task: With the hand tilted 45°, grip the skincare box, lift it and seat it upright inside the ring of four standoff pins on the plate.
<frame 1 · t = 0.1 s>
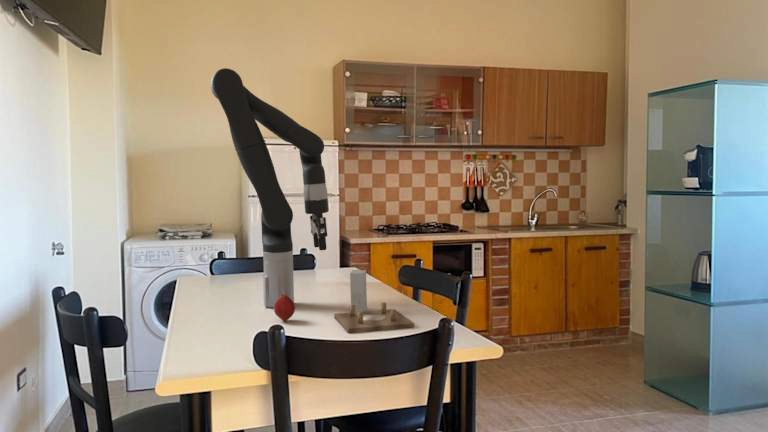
hand: (320, 248, 199), 17 cm above the table, tool pointing down, fingers open, 8 cm apart
standoff plate: (372, 322, 172), on the table
skincare box: (359, 311, 187), on the table
onion: (284, 321, 175), on the table
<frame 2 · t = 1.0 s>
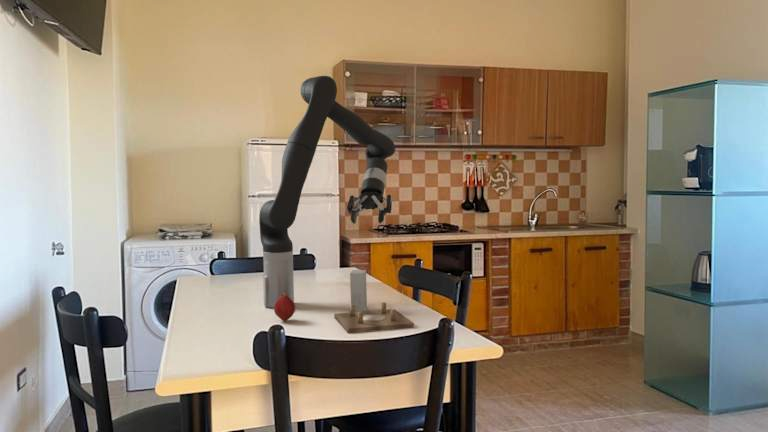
hand: (366, 221, 197), 26 cm above the table, tool tilted 45°, fingers open, 8 cm apart
nothing on the table moved.
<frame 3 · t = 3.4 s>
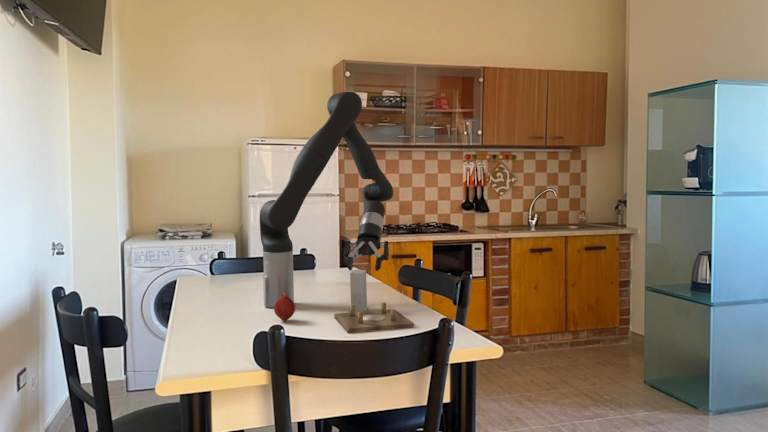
hand: (363, 269, 192), 12 cm above the table, tool tilted 45°, fingers open, 8 cm apart
nothing on the table moved.
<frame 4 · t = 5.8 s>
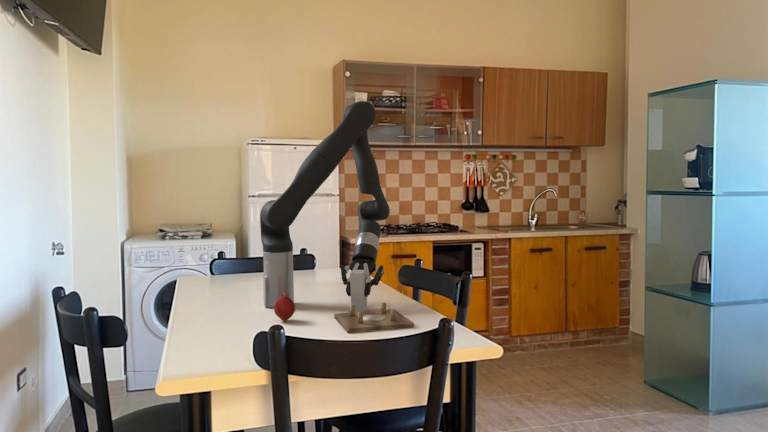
hand: (357, 294, 185), 5 cm above the table, tool tilted 45°, fingers closed on skincare box, 4 cm apart
skincare box: (359, 311, 187), on the table, touching gripper
everything else where it was.
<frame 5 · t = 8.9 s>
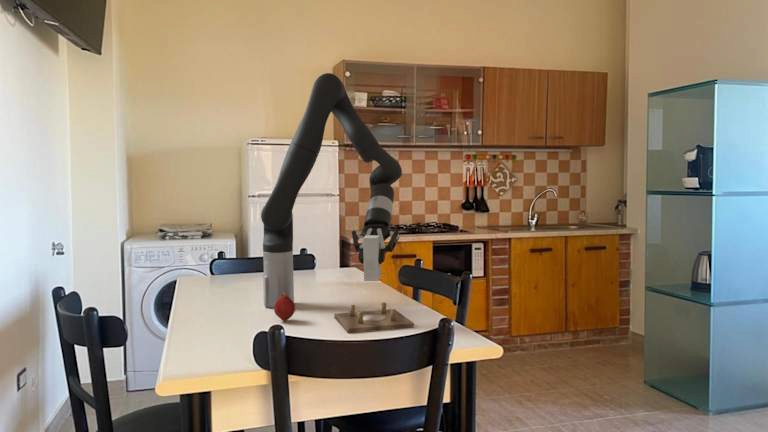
hand: (370, 261, 170), 17 cm above the table, tool tilted 45°, fingers closed on skincare box, 4 cm apart
skincare box: (372, 279, 172), point 12 cm above the table, touching gripper
everything else where it was.
when the fingers open (7 cm above the table, at t = 11.8 s): skincare box stays where it is, resting on standoff plate.
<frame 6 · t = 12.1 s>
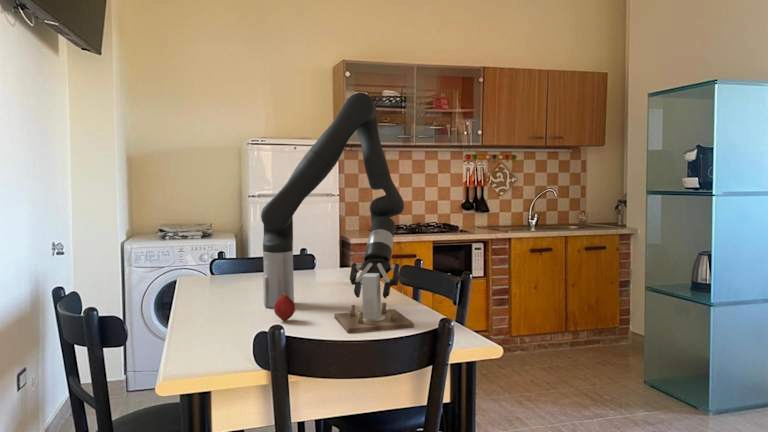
hand: (371, 296, 170), 8 cm above the table, tool tilted 45°, fingers open, 7 cm apart
skincare box: (372, 317, 172), point 1 cm above the table, touching standoff plate
everything else where it was.
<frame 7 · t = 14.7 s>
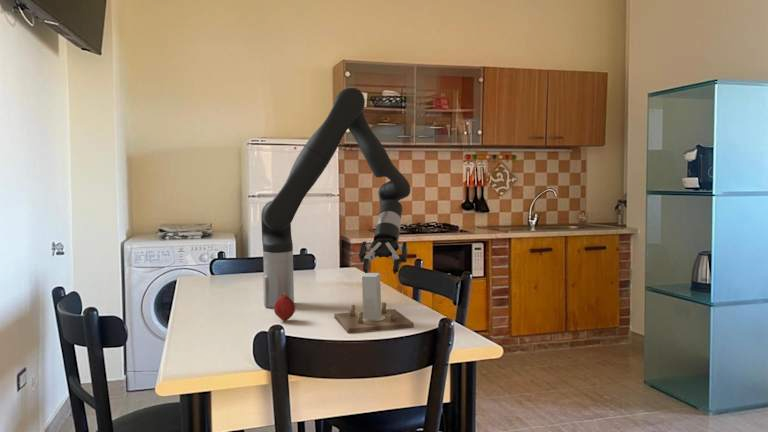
hand: (380, 271, 182), 12 cm above the table, tool tilted 45°, fingers open, 8 cm apart
nothing on the table moved.
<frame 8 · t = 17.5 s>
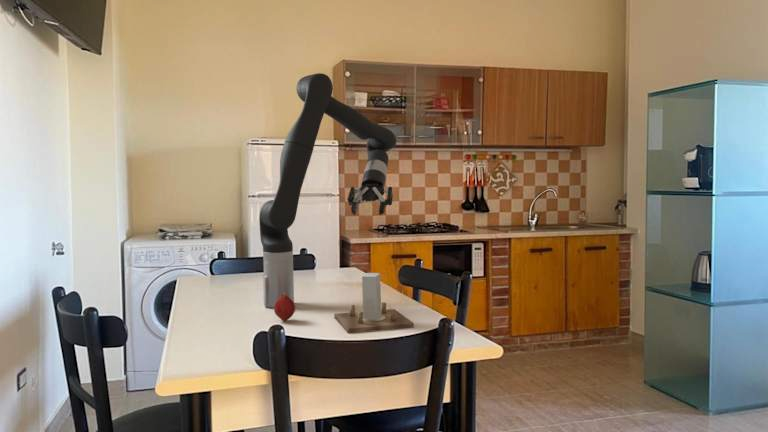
hand: (367, 213, 195), 29 cm above the table, tool tilted 45°, fingers open, 8 cm apart
nothing on the table moved.
at the end: skincare box 0.3 cm off-centre on the standoff plate, point 1.2 cm above the standoff plate's base; skincare box tilted 0°; the gripper is holding nothing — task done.
